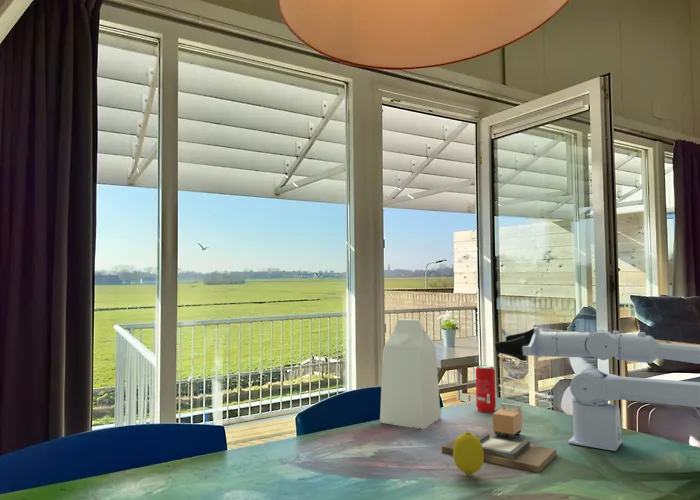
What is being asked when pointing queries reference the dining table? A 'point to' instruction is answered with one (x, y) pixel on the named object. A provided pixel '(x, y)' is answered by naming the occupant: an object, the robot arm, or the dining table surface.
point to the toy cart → (507, 420)
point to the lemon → (468, 453)
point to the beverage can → (485, 388)
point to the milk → (409, 377)
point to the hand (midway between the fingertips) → (501, 343)
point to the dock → (511, 453)
